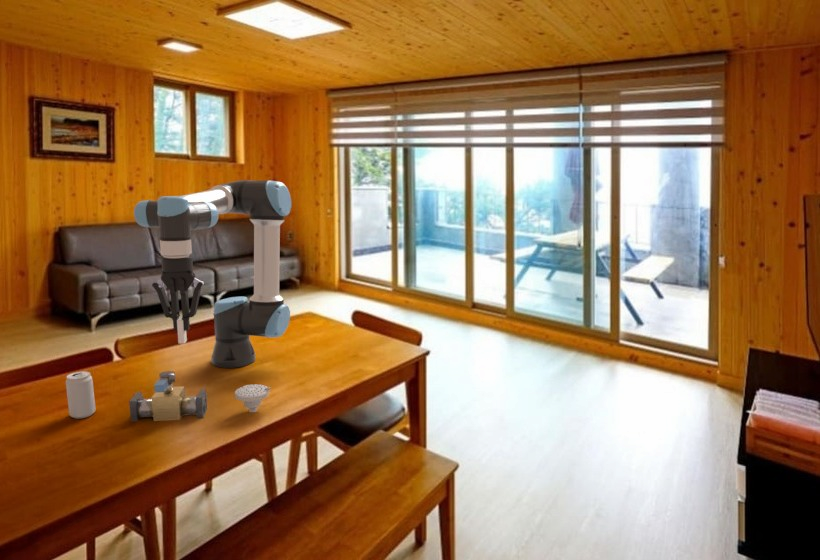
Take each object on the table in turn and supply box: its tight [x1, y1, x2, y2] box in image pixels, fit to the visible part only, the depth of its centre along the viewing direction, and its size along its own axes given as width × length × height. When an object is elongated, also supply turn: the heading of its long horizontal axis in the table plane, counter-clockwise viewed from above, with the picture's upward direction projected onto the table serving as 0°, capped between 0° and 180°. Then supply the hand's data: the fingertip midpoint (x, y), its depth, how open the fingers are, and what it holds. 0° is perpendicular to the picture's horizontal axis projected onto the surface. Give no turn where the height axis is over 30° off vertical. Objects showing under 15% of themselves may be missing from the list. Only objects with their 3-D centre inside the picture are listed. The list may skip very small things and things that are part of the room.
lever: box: [154, 370, 176, 393], centre depth 151 cm, size 10×4×2 cm, turn 9°
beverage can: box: [65, 371, 97, 420], centre depth 154 cm, size 6×6×12 cm
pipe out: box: [128, 391, 153, 423], centre depth 154 cm, size 6×6×6 cm
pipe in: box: [180, 388, 208, 419], centre depth 157 cm, size 6×6×6 cm
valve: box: [151, 383, 186, 422], centre depth 155 cm, size 7×7×10 cm
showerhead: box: [234, 383, 271, 413], centre depth 159 cm, size 9×7×10 cm
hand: (182, 341), depth 149 cm, fingers closed
